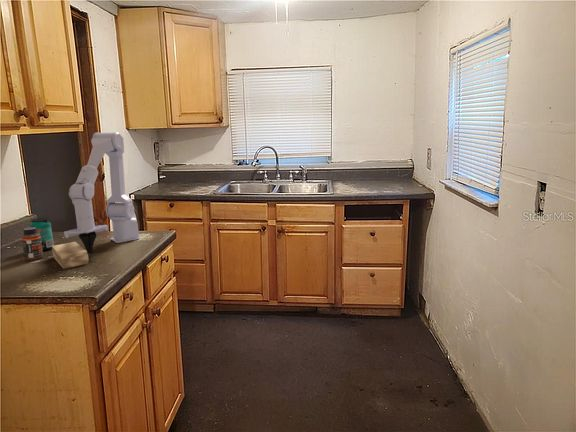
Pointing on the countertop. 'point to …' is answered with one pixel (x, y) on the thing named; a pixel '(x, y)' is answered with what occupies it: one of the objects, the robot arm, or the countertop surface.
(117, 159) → the robot arm
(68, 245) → the tan rectangular block
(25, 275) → the countertop surface
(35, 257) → the supplement bottle
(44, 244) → the beverage can
